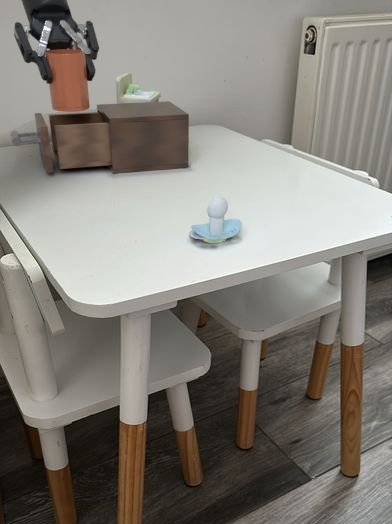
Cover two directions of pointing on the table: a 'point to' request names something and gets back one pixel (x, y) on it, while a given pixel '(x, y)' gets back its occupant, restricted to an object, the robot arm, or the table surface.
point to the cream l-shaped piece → (133, 91)
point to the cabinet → (147, 136)
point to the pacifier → (216, 224)
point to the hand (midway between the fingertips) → (70, 79)
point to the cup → (68, 80)
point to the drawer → (71, 140)
